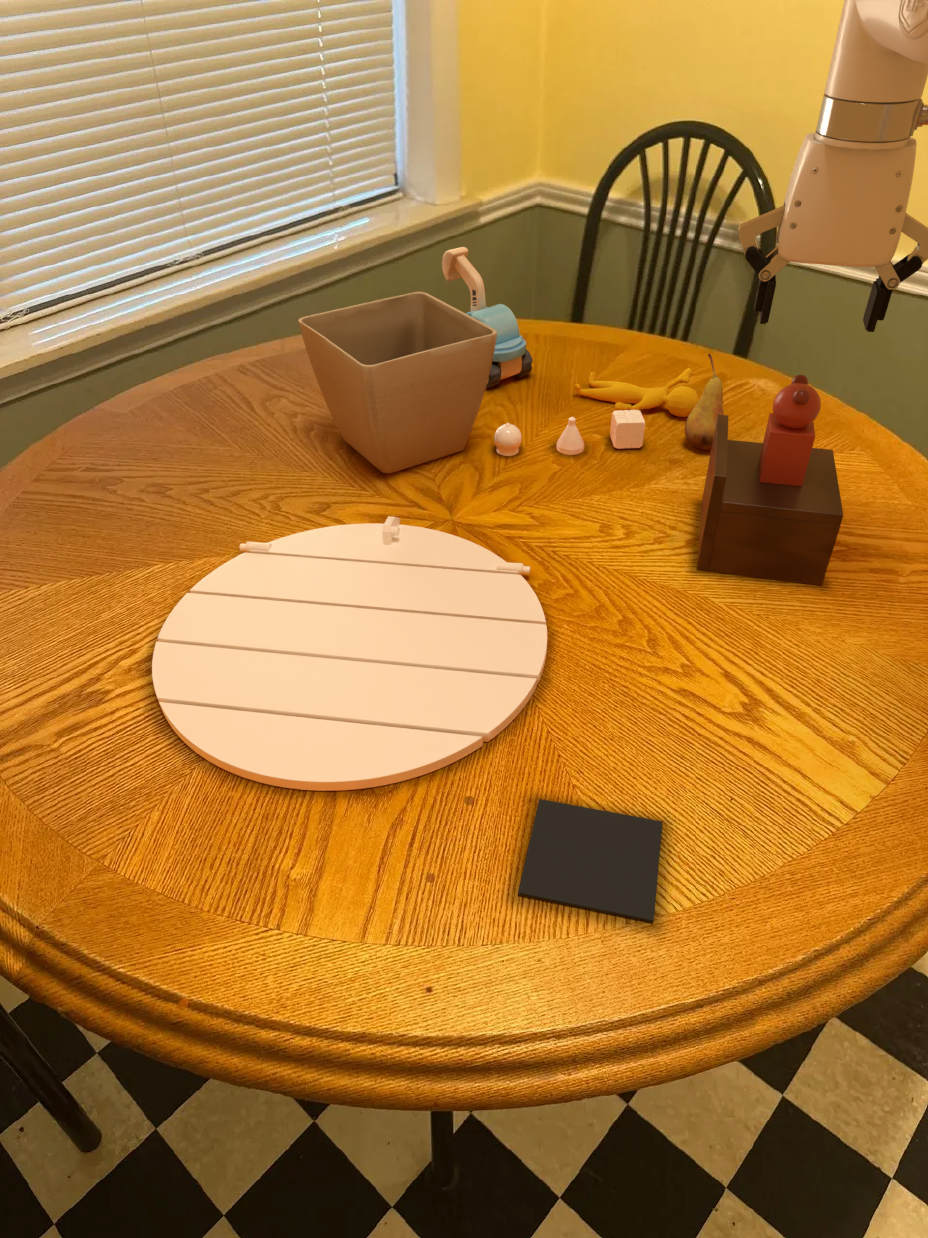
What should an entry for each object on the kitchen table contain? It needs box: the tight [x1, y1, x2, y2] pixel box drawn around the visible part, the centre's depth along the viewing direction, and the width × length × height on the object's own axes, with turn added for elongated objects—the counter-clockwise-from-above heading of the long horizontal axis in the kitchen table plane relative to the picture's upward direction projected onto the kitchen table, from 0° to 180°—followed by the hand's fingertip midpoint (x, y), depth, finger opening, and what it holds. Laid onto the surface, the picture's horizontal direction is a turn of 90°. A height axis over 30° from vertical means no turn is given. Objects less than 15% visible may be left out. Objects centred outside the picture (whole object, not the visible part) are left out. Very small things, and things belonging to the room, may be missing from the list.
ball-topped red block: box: [759, 374, 822, 487], centre depth 90 cm, size 5×5×11 cm
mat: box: [517, 798, 663, 924], centre depth 67 cm, size 10×9×1 cm
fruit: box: [684, 353, 725, 451], centre depth 113 cm, size 6×6×12 cm
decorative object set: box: [493, 410, 646, 457], centre depth 116 cm, size 5×20×4 cm, turn 92°
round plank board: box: [151, 515, 548, 792], centre depth 87 cm, size 40×39×3 cm
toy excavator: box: [441, 246, 534, 389], centre depth 133 cm, size 9×17×17 cm, turn 34°
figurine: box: [574, 367, 699, 418], centre depth 126 cm, size 14×5×18 cm
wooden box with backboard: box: [696, 414, 844, 587], centre depth 95 cm, size 13×14×12 cm
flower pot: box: [297, 290, 497, 474], centre depth 114 cm, size 19×19×17 cm
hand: (815, 322), depth 83 cm, fingers open, 9 cm apart
